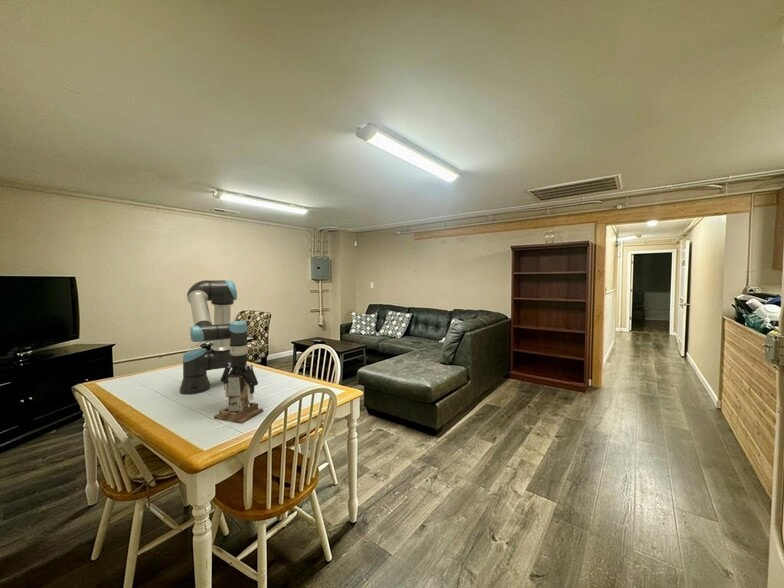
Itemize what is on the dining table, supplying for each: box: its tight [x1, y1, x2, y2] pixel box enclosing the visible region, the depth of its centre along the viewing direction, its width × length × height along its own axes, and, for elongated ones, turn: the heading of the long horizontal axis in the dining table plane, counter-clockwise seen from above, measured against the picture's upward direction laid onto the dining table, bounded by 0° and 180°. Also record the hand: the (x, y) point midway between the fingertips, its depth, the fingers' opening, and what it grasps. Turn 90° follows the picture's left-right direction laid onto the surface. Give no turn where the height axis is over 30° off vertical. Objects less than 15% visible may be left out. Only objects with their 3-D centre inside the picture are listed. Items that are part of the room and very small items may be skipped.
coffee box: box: [227, 373, 250, 411], centre depth 149 cm, size 9×6×16 cm
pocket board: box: [213, 402, 264, 425], centre depth 150 cm, size 16×14×4 cm
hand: (239, 398), depth 149 cm, fingers open, 13 cm apart
